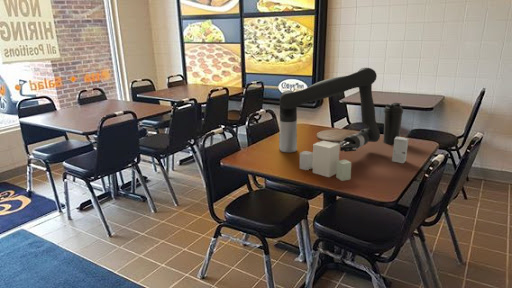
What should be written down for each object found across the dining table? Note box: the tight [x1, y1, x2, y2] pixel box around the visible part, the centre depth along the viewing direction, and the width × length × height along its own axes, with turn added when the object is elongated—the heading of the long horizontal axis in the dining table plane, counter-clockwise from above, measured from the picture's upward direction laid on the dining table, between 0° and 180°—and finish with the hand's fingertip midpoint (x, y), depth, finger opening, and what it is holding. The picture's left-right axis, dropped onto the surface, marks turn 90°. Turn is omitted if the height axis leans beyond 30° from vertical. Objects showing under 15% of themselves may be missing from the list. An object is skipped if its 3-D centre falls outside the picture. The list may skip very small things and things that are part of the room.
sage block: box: [335, 159, 352, 182], centre depth 164 cm, size 4×4×8 cm
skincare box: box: [391, 136, 410, 164], centre depth 182 cm, size 6×4×12 cm
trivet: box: [316, 129, 357, 143], centre depth 229 cm, size 25×25×2 cm
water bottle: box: [383, 102, 404, 145], centre depth 212 cm, size 10×10×23 cm
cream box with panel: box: [312, 140, 340, 178], centre depth 171 cm, size 8×9×14 cm
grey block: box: [299, 150, 313, 171], centre depth 178 cm, size 4×4×8 cm
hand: (335, 150), depth 175 cm, fingers closed
